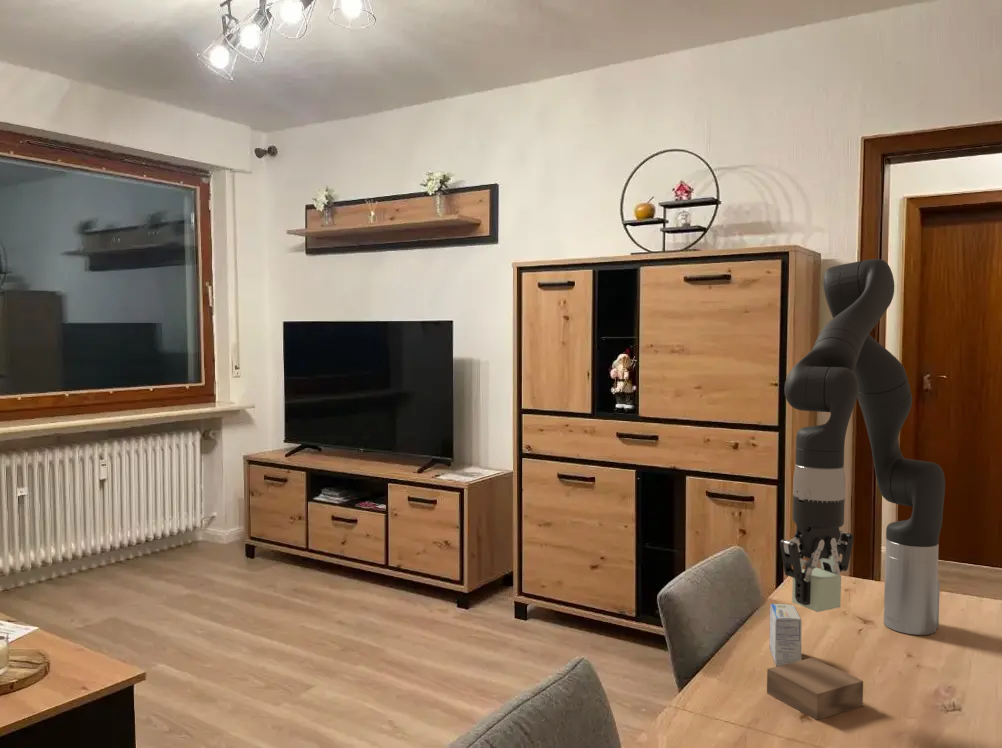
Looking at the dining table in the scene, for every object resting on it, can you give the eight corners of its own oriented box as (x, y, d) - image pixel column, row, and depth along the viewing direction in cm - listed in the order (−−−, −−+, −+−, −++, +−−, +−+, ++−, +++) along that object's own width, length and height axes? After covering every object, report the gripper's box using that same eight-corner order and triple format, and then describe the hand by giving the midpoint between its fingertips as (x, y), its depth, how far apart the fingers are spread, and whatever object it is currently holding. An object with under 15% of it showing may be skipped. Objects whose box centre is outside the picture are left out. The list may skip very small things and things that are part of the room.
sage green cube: (814, 597, 129) (815, 567, 129) (840, 607, 125) (841, 575, 124) (792, 602, 127) (792, 571, 127) (817, 612, 122) (818, 580, 122)
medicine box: (801, 668, 138) (802, 619, 138) (774, 666, 139) (775, 617, 139) (794, 651, 146) (795, 604, 146) (768, 649, 147) (769, 602, 146)
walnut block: (811, 681, 133) (811, 657, 133) (862, 706, 124) (863, 681, 124) (766, 693, 129) (767, 668, 129) (816, 720, 120) (817, 693, 120)
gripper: (831, 486, 131) (828, 588, 132) (766, 493, 125) (764, 600, 126) (870, 494, 125) (867, 601, 126) (804, 502, 118) (801, 615, 119)
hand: (815, 600), depth 126 cm, fingers closed on sage green cube, 5 cm apart
